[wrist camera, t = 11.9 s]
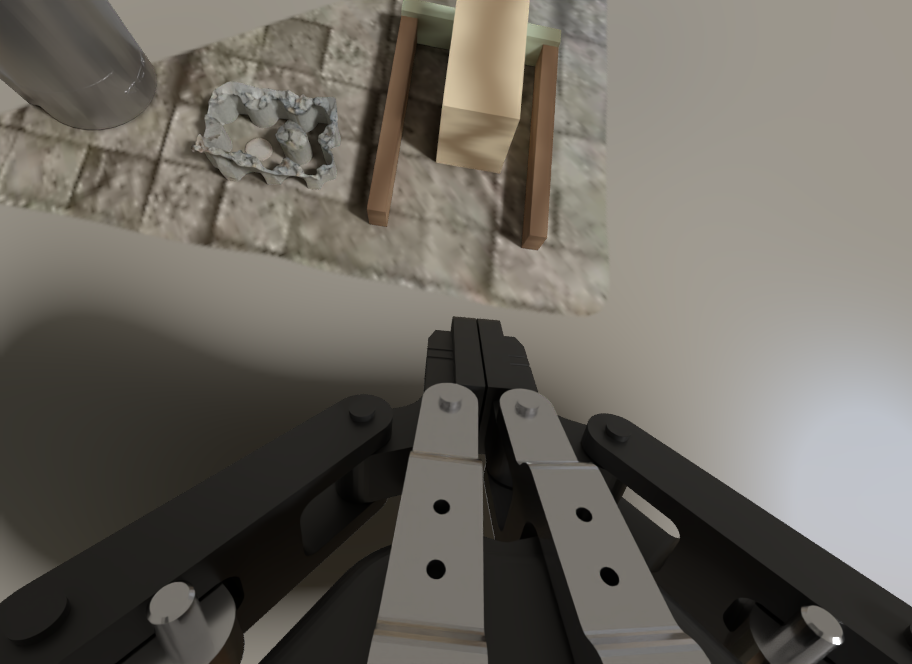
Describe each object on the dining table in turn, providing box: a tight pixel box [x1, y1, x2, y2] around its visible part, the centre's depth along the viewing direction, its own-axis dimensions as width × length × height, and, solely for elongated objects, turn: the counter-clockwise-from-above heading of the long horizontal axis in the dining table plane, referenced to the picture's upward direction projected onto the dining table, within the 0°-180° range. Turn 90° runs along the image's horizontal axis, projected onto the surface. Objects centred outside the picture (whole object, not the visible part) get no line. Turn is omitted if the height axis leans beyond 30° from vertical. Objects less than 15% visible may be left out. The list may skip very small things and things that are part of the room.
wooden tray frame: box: [367, 0, 561, 250], centre depth 37 cm, size 15×22×3 cm
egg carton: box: [191, 82, 341, 189], centre depth 34 cm, size 11×8×4 cm
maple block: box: [436, 0, 529, 173], centre depth 36 cm, size 6×12×7 cm, turn 174°
